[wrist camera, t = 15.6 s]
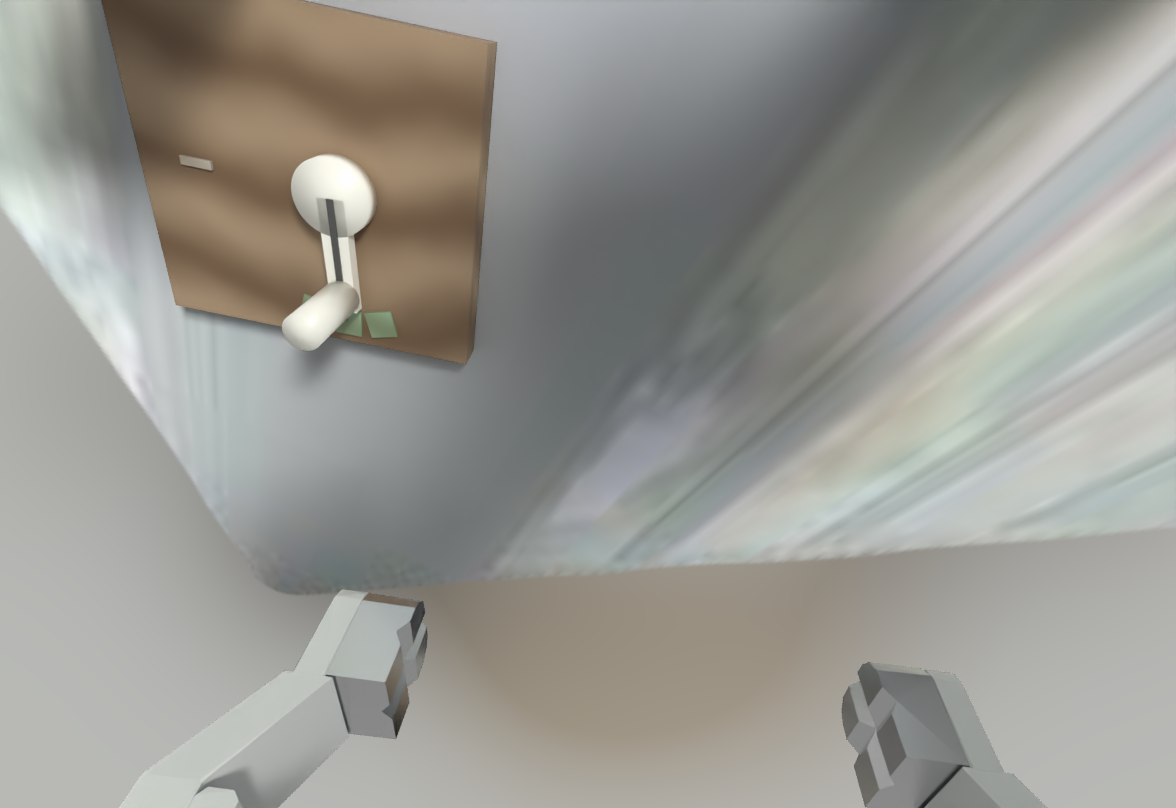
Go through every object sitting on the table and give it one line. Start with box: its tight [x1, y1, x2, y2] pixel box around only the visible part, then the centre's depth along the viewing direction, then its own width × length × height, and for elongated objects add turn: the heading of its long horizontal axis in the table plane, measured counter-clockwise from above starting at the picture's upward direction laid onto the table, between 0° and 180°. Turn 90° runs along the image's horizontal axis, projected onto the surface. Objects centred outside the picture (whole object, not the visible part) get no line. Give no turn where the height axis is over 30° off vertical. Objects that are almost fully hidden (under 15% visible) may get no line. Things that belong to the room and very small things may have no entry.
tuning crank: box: [282, 153, 377, 351], centre depth 33 cm, size 10×4×6 cm, turn 173°
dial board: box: [101, 0, 497, 364], centre depth 35 cm, size 19×20×2 cm
